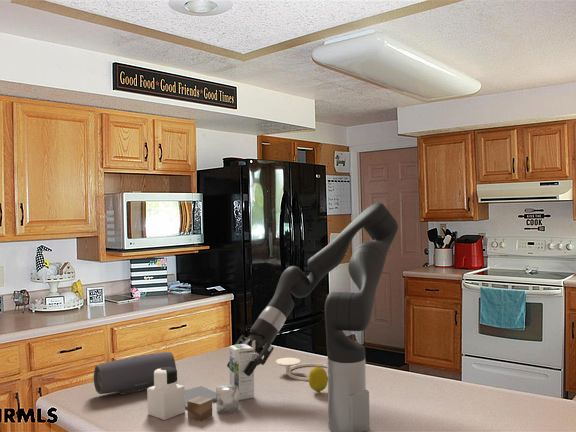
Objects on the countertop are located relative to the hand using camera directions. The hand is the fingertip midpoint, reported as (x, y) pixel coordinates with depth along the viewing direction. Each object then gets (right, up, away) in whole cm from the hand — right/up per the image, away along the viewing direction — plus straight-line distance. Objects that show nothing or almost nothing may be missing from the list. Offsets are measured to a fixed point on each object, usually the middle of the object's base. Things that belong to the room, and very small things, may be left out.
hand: (237, 371), depth 157 cm
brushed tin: (-2, -8, -9) cm, 12 cm away
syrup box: (+1, -8, +1) cm, 8 cm away
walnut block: (-9, -8, -14) cm, 18 cm away
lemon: (+23, -7, +3) cm, 25 cm away
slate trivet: (-12, -8, 0) cm, 15 cm away
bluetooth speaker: (-32, -8, +9) cm, 34 cm away
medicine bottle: (-18, -8, -11) cm, 23 cm away
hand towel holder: (+21, -7, +22) cm, 31 cm away
